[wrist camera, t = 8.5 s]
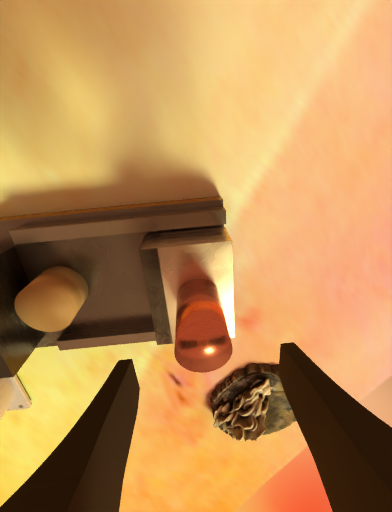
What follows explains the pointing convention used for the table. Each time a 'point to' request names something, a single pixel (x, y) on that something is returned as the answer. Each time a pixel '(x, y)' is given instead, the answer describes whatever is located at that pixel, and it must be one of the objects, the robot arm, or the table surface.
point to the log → (251, 403)
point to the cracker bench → (89, 270)
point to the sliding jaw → (191, 294)
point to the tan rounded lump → (52, 299)
